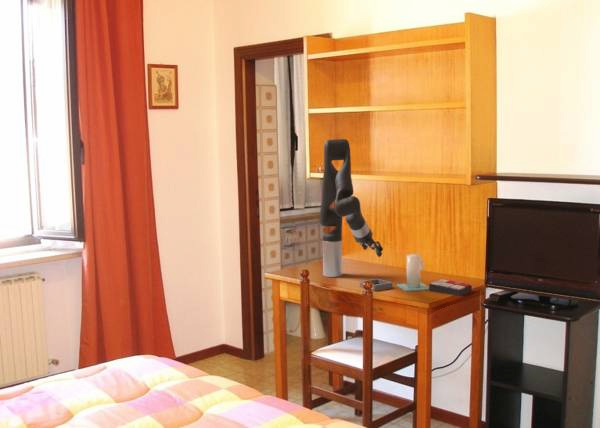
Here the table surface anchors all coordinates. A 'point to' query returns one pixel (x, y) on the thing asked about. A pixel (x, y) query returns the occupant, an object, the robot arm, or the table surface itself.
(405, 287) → the coaster pad
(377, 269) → the table surface
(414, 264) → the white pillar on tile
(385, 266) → the table surface
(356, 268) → the table surface
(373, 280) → the holder
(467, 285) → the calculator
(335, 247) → the robot arm
